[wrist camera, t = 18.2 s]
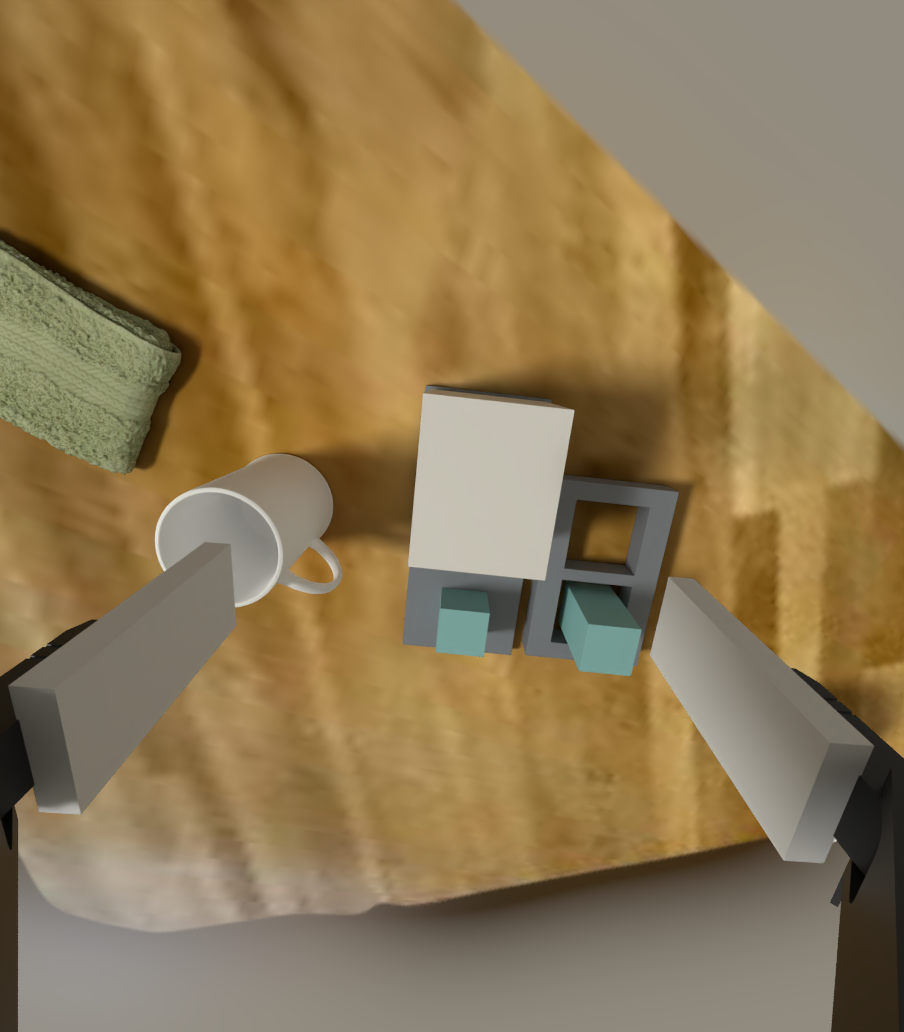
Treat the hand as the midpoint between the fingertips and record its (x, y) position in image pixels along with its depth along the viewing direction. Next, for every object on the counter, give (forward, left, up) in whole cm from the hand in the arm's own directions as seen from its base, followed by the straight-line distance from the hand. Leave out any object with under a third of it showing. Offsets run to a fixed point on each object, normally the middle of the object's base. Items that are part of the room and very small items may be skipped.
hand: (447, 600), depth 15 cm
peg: (+12, +13, -27) cm, 32 cm away
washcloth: (-4, -32, -28) cm, 43 cm away
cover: (0, +2, -26) cm, 26 cm away
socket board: (+8, +13, -27) cm, 31 cm away
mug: (+6, -13, -27) cm, 31 cm away
